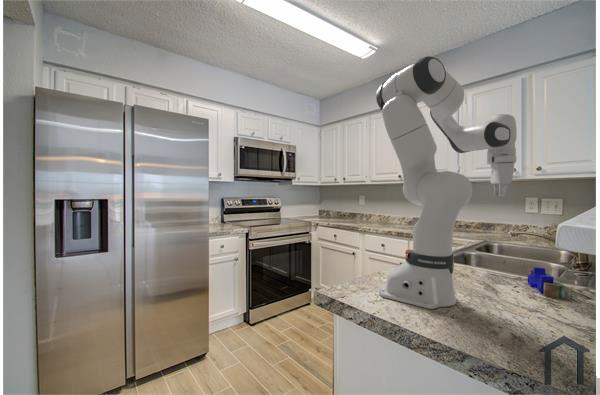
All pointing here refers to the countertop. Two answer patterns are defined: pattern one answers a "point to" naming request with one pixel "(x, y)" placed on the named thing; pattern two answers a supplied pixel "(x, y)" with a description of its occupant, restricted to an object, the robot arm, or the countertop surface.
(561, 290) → the rail
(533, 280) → the cable clip
